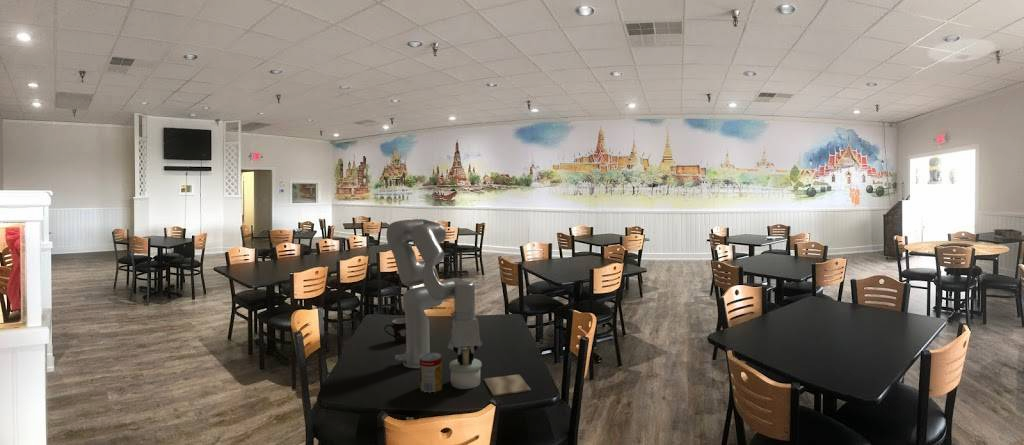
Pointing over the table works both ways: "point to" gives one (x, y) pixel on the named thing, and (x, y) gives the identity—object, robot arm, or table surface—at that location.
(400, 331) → the coffee mug
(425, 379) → the canned food
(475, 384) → the bowl
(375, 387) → the table surface
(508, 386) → the mat
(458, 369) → the lid
